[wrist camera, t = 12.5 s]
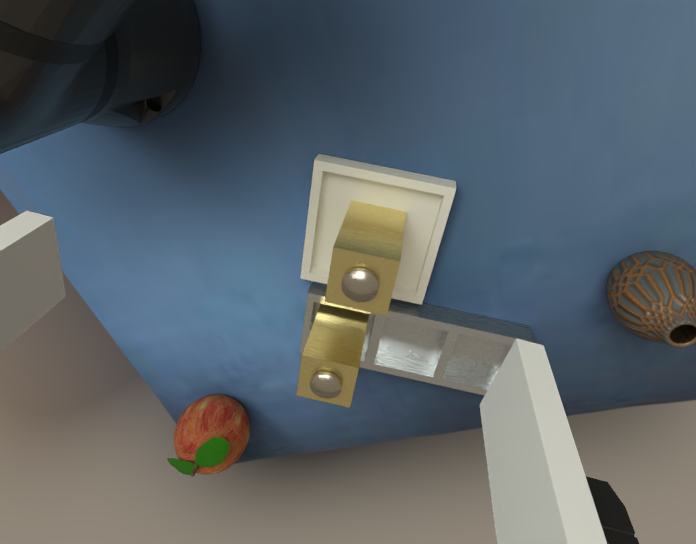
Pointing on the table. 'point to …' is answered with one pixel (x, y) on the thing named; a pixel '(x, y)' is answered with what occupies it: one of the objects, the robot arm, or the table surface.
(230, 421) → the fruit
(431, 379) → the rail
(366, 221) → the knobbed block
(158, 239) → the table surface
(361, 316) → the brass block with knob
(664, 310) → the vase
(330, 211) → the tray
